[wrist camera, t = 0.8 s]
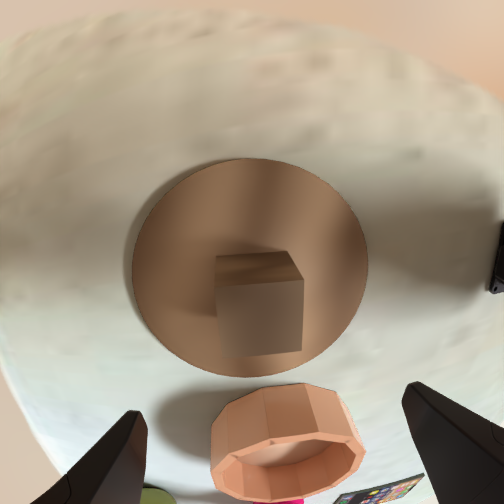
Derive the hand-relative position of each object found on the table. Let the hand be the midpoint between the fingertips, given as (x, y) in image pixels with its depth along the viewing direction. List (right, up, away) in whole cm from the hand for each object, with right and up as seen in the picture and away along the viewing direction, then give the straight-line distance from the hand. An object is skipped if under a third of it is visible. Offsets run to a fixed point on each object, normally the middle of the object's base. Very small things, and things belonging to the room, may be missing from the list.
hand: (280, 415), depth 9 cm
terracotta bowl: (+2, -11, +15) cm, 18 cm away
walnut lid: (-1, +4, +10) cm, 11 cm away
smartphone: (+19, -33, +25) cm, 45 cm away
